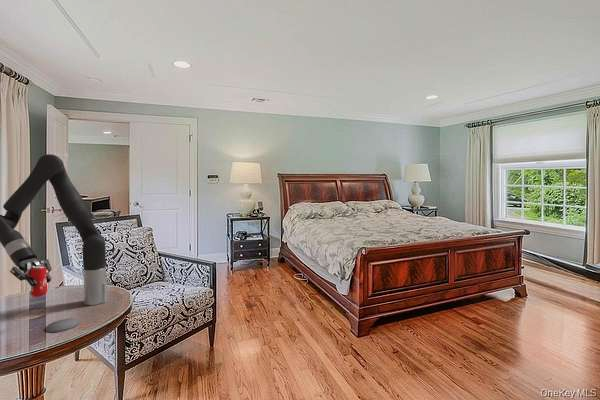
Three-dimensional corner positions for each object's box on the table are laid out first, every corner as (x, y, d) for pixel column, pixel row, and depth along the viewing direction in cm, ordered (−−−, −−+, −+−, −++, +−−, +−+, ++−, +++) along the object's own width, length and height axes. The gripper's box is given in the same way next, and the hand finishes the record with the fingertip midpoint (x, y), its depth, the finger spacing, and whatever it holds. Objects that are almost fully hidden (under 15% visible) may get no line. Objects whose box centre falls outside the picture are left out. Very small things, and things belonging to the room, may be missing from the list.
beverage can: (37, 292, 131) (36, 264, 130) (50, 292, 132) (49, 265, 131) (27, 297, 126) (26, 268, 125) (41, 297, 127) (40, 268, 126)
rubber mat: (82, 318, 136) (82, 316, 136) (75, 329, 126) (75, 327, 126) (51, 322, 132) (51, 320, 131) (41, 334, 121) (41, 332, 121)
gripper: (4, 250, 123) (27, 283, 120) (43, 243, 137) (64, 272, 134) (-4, 262, 125) (18, 294, 122) (34, 254, 138) (55, 283, 136)
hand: (42, 283), depth 128 cm, fingers closed on beverage can, 5 cm apart
